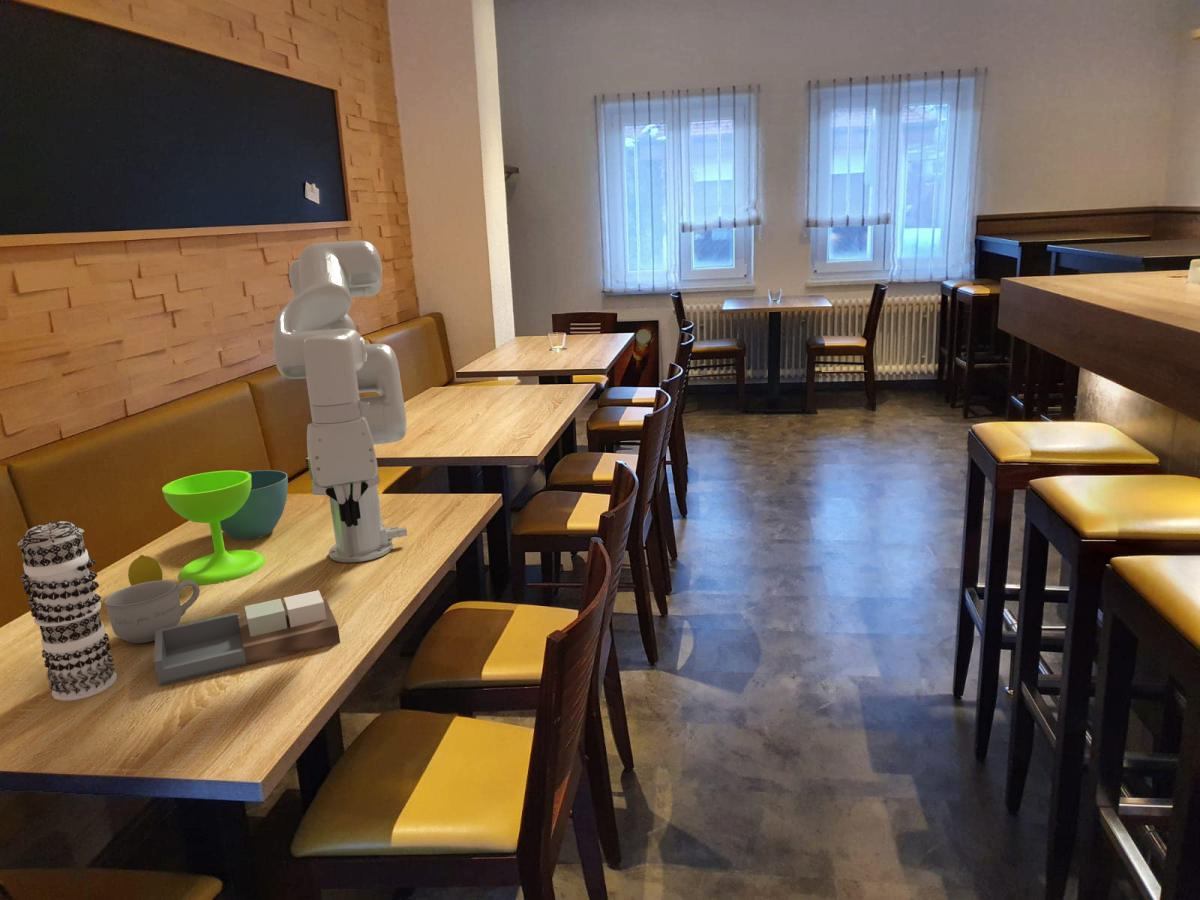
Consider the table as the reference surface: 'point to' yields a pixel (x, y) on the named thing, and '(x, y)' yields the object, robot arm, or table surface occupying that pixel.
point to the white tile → (305, 608)
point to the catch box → (198, 649)
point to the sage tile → (265, 617)
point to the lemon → (144, 570)
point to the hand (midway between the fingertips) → (351, 524)
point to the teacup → (147, 608)
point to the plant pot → (259, 506)
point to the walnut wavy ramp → (289, 638)
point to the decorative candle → (66, 610)
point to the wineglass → (214, 522)
